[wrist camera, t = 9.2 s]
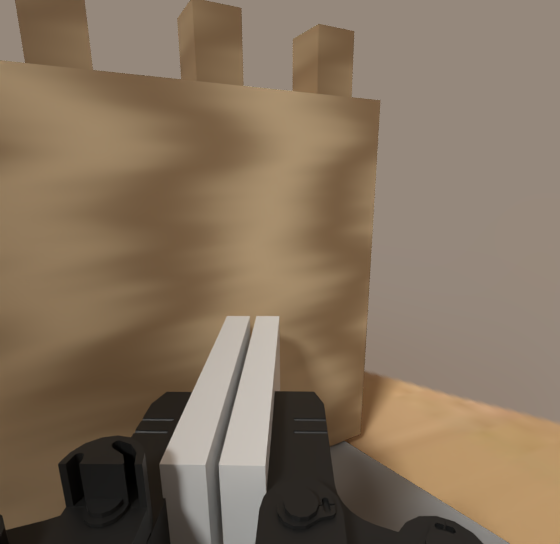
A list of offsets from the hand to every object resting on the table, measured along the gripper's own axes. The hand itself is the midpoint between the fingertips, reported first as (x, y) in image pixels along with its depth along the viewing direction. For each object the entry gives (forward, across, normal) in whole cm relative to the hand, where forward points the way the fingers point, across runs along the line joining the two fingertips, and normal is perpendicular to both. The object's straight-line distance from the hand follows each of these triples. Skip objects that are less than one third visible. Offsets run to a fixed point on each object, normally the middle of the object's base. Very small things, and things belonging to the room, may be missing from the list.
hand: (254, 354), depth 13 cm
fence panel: (0, -3, -6) cm, 6 cm away
